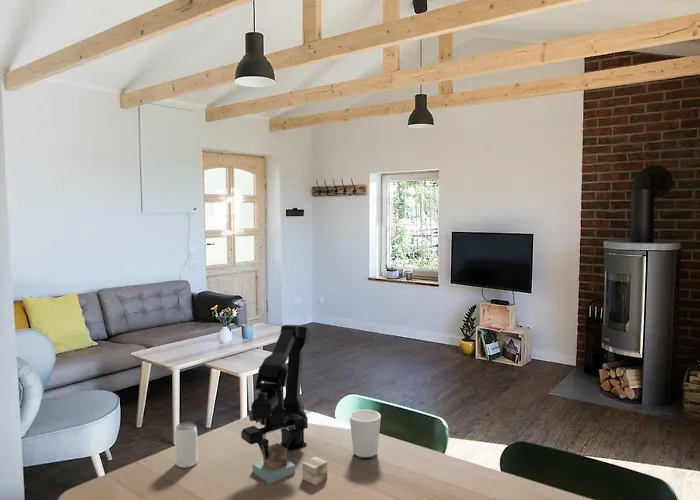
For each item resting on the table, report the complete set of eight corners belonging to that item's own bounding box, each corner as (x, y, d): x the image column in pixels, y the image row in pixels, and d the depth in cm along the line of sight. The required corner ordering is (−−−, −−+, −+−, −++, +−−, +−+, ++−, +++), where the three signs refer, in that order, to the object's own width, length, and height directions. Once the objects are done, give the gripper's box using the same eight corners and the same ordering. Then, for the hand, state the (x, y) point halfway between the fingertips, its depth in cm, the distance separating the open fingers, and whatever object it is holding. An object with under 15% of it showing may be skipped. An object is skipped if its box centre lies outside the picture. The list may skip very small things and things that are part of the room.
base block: (278, 463, 165) (277, 454, 165) (295, 474, 159) (295, 464, 158) (252, 473, 159) (252, 463, 159) (269, 485, 153) (269, 475, 152)
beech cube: (315, 472, 159) (314, 456, 158) (327, 478, 155) (327, 461, 155) (302, 479, 155) (302, 462, 155) (315, 485, 152) (314, 468, 151)
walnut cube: (278, 459, 162) (277, 442, 162) (287, 465, 158) (286, 448, 158) (263, 464, 159) (263, 447, 159) (272, 470, 155) (271, 453, 155)
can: (191, 469, 161) (190, 430, 160) (171, 467, 162) (170, 429, 161) (201, 459, 167) (200, 422, 166) (182, 457, 169) (181, 420, 168)
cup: (344, 458, 167) (344, 418, 166) (356, 445, 176) (356, 407, 175) (375, 464, 163) (374, 423, 162) (385, 450, 173) (385, 411, 171)
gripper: (286, 390, 169) (287, 438, 170) (231, 404, 158) (233, 455, 159) (306, 400, 160) (307, 450, 162) (250, 416, 149) (251, 470, 150)
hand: (274, 456), depth 158 cm, fingers open, 6 cm apart
